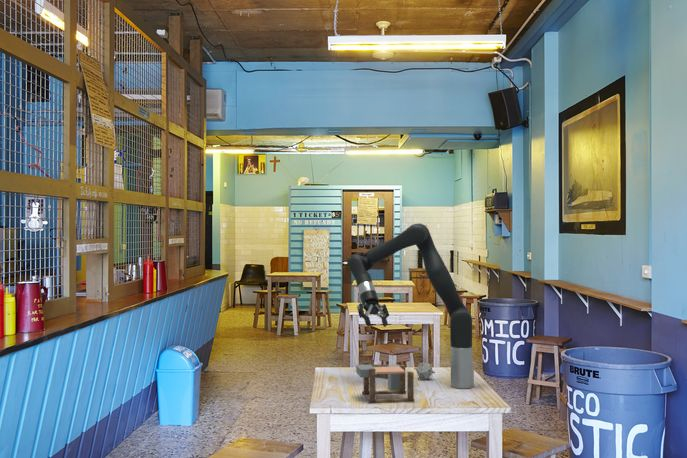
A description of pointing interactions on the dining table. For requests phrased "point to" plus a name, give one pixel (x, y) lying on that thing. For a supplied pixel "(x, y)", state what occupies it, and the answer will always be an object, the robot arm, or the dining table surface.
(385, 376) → the marble piece
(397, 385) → the slate block
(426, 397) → the dining table surface
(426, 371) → the game die
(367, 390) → the frame
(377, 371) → the trapdoor
